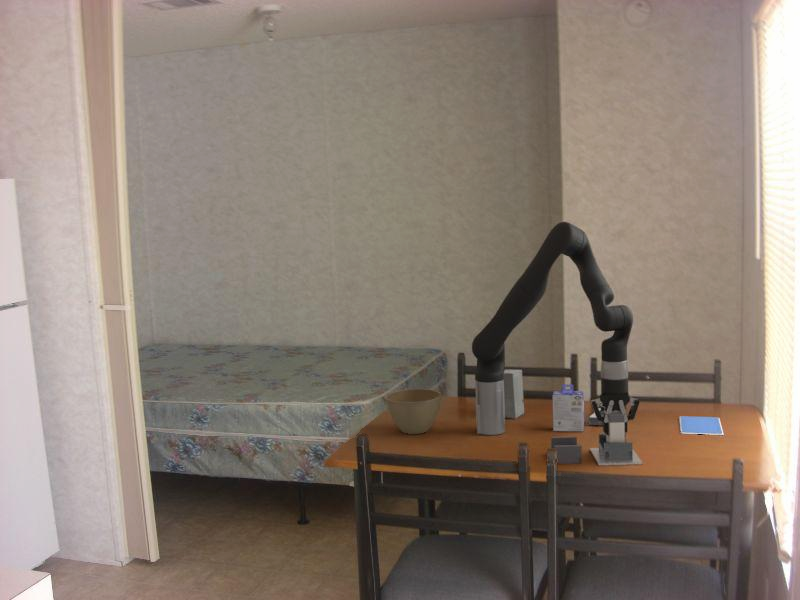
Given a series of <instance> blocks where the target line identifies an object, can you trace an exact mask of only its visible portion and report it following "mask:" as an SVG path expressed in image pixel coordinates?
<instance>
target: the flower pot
mask: <svg viewBox="0 0 800 600" xmlns="http://www.w3.org/2000/svg"><path fill="white" fill-rule="evenodd" d="M441 396H442V395H441V392H440V391H438V390H434V389H430V388H429V389H428V388H410V389H401V390H397V391H393V392H390V393H388V394H387V395H386V396H385V402H386V406H387V410H388V413H389V414H390V417H391V419H392V420H393V422H394V424H395V425H396V426H397V427H398V429H399V430H400V431H401V432H402V433H404V434H406V433H408V434H407V435H420V433H421V434H424V432H425V433H427V432H428V431H429V430H430V429H431V427H432V425H433V424H434V422H435V420H436V418H437V417H438V414H439V410H440V406H441V398H442V397H441Z"/></svg>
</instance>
